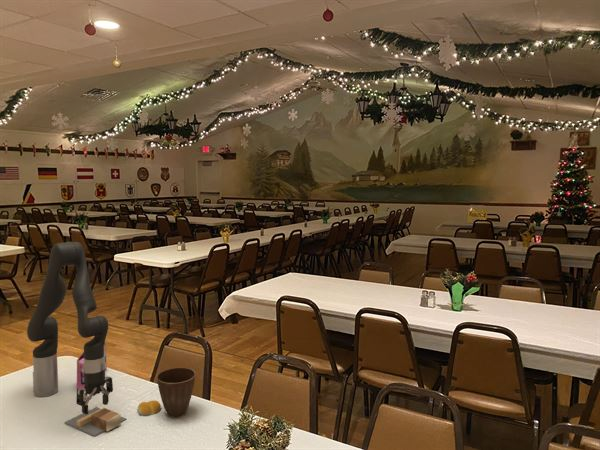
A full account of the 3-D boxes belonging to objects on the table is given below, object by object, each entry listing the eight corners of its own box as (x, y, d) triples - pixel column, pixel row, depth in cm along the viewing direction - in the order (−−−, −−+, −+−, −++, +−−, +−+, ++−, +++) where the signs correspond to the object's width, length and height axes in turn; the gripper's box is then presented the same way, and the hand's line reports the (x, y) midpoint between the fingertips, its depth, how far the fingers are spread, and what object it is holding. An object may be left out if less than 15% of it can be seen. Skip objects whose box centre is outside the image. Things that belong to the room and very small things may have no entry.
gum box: (94, 390, 203) (93, 361, 201) (75, 391, 201) (74, 362, 200) (107, 369, 226) (106, 342, 225) (90, 370, 225) (89, 343, 223)
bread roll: (163, 412, 184) (163, 403, 184) (140, 418, 180) (140, 408, 179) (157, 404, 191) (157, 394, 191) (135, 409, 186) (135, 400, 186)
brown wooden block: (91, 414, 172) (106, 421, 168) (105, 408, 178) (120, 414, 173) (91, 424, 173) (107, 431, 168) (105, 418, 178) (120, 424, 173)
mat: (64, 423, 174) (64, 417, 174) (96, 408, 187) (96, 402, 186) (94, 436, 166) (94, 430, 165) (126, 419, 178) (126, 414, 178)
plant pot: (203, 409, 187) (203, 372, 185) (177, 426, 174) (177, 386, 172) (176, 401, 194) (175, 364, 192) (149, 416, 181) (148, 377, 179)
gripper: (104, 360, 182) (105, 399, 184) (71, 372, 170) (72, 414, 171) (116, 364, 178) (117, 403, 180) (83, 377, 166) (85, 419, 168)
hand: (95, 409), depth 176 cm, fingers open, 8 cm apart
